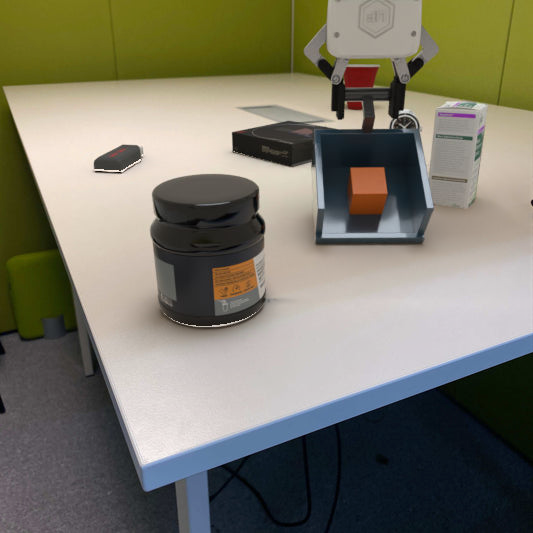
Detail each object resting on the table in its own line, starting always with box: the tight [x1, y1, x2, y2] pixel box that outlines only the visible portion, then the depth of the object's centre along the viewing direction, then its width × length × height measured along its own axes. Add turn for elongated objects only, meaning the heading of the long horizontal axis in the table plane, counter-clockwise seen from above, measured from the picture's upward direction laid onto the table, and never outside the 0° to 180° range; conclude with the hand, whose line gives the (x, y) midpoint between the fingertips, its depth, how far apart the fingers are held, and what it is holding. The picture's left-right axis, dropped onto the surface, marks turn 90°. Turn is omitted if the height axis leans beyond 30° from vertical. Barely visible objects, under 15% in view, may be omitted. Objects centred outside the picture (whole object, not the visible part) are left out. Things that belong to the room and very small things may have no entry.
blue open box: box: [310, 86, 435, 245], centre depth 65 cm, size 17×13×10 cm
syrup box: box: [428, 100, 489, 210], centre depth 75 cm, size 6×6×14 cm
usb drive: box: [93, 144, 144, 171], centre depth 102 cm, size 5×12×3 cm, turn 168°
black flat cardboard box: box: [231, 120, 336, 167], centre depth 110 cm, size 16×17×4 cm
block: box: [347, 167, 388, 214], centre depth 66 cm, size 4×4×4 cm
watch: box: [388, 108, 423, 133], centre depth 91 cm, size 6×8×11 cm
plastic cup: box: [343, 64, 381, 111], centre depth 153 cm, size 11×11×12 cm
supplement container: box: [149, 173, 267, 326], centre depth 51 cm, size 10×10×12 cm
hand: (366, 115), depth 66 cm, fingers closed on blue open box, 5 cm apart
